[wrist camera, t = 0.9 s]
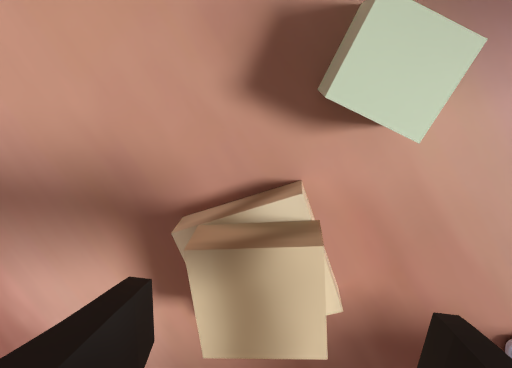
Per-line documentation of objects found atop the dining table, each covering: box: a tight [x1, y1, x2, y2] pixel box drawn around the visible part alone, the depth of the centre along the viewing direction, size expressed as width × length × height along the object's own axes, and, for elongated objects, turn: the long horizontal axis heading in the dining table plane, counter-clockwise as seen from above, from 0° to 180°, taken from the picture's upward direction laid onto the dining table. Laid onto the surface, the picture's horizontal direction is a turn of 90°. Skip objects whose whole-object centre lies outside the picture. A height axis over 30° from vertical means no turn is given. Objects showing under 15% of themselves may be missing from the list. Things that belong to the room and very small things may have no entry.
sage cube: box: [317, 0, 487, 143], centre depth 14 cm, size 4×4×4 cm
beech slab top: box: [183, 220, 328, 360], centre depth 17 cm, size 6×6×2 cm
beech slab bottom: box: [171, 180, 343, 315], centre depth 19 cm, size 7×7×2 cm
